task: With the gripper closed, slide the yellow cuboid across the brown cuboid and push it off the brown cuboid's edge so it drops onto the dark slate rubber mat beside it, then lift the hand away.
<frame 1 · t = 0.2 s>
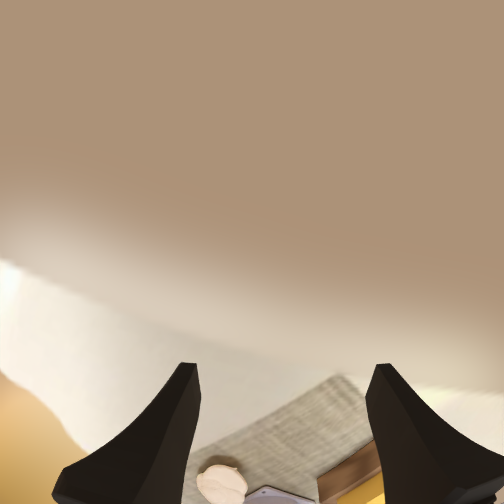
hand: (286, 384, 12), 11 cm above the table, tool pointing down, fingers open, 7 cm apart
dumpling: (223, 470, 29), on the table
yellow cuboid: (385, 495, 23), point 5 cm above the table, touching brown cuboid
brown cuboid: (384, 466, 28), on the table
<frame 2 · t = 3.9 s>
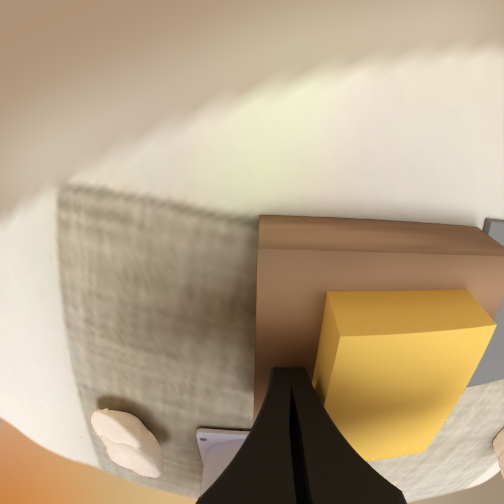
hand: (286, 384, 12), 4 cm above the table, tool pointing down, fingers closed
dumpling: (134, 420, 21), on the table
yellow cuboid: (388, 389, 11), point 5 cm above the table, touching gripper
brown cuboid: (363, 322, 16), on the table
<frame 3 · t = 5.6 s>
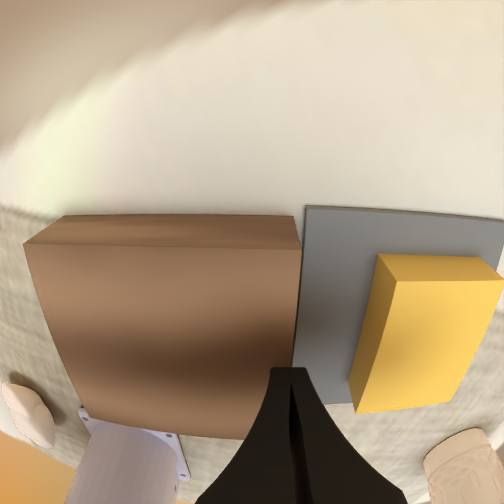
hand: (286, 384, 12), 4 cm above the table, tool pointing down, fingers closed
dumpling: (38, 396, 21), on the table
white cup: (452, 446, 22), on the table
yellow cuboid: (422, 339, 14), point 2 cm above the table, tilted 180°, touching mat
mat: (397, 321, 16), on the table
brown cuboid: (177, 318, 16), on the table
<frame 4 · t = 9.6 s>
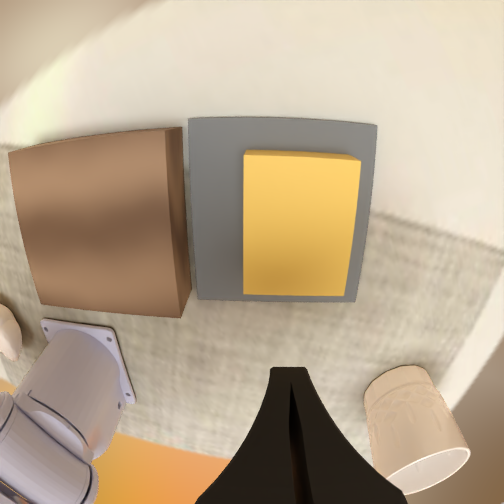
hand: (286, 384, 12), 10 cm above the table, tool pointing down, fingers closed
dumpling: (12, 317, 26), on the table
white cup: (395, 387, 27), on the table
yellow cuboid: (297, 223, 18), point 2 cm above the table, tilted 180°, touching mat
mat: (281, 215, 20), on the table
brown cuboid: (109, 214, 20), on the table
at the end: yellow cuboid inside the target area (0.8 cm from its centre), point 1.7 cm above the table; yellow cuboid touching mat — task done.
